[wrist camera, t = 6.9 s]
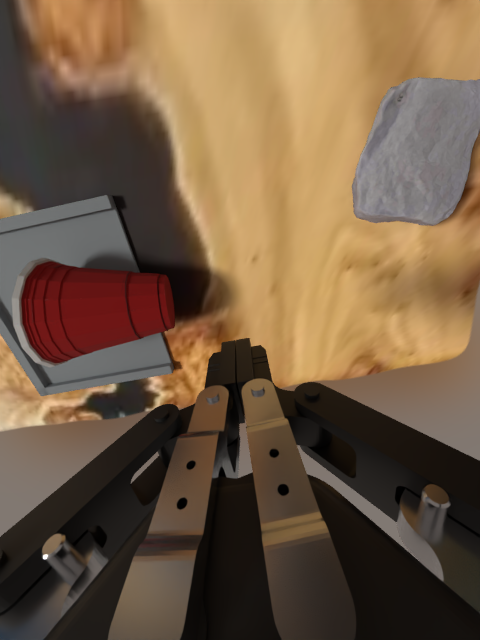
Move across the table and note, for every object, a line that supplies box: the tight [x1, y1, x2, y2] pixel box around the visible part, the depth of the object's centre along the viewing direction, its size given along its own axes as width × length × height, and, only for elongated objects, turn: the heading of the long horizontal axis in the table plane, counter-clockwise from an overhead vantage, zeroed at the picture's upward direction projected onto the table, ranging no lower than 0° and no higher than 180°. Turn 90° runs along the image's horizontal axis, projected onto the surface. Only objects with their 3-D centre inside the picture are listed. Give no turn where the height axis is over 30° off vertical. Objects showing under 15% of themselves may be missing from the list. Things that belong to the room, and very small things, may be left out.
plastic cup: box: [12, 258, 175, 367], centre depth 26 cm, size 11×11×12 cm
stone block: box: [352, 77, 480, 226], centre depth 25 cm, size 12×5×10 cm
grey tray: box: [0, 195, 174, 396], centre depth 31 cm, size 19×22×1 cm
